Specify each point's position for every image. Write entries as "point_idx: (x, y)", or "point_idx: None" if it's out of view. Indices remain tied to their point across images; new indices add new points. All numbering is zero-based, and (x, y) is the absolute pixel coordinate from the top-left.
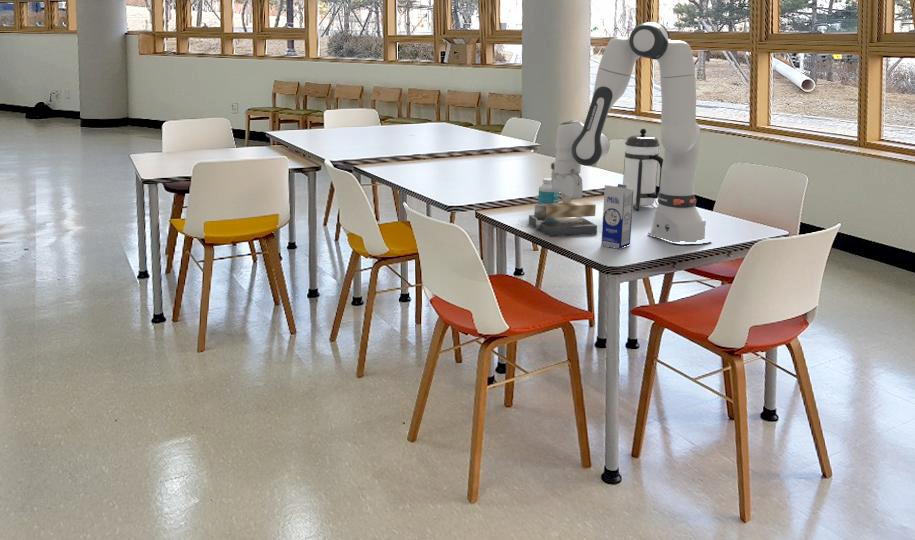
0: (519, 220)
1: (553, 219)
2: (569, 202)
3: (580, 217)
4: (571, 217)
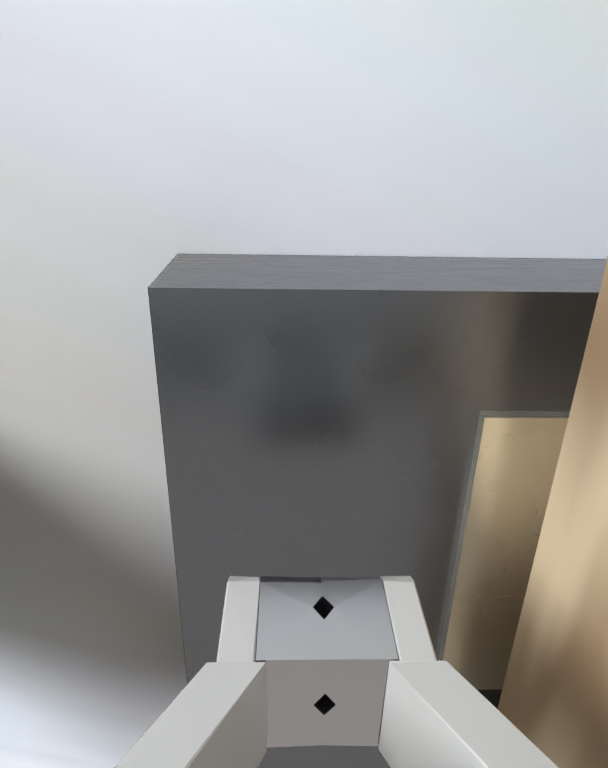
0: (66, 759)
1: (497, 694)
2: (432, 668)
3: (537, 324)
4: (537, 491)
